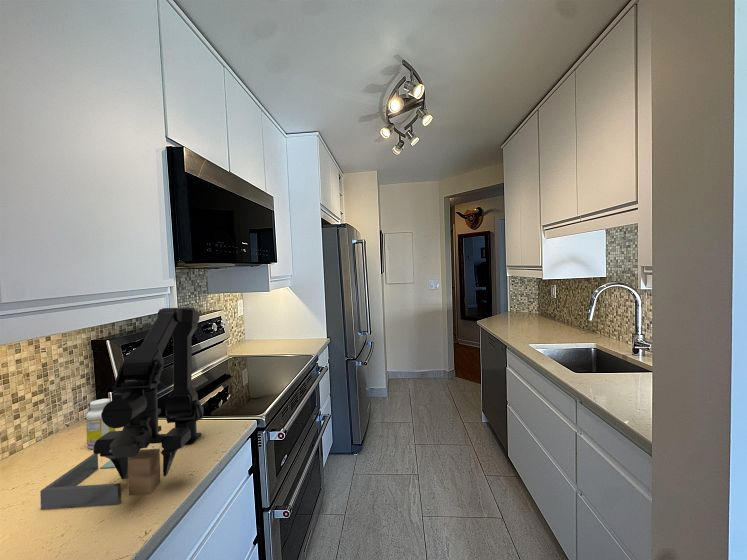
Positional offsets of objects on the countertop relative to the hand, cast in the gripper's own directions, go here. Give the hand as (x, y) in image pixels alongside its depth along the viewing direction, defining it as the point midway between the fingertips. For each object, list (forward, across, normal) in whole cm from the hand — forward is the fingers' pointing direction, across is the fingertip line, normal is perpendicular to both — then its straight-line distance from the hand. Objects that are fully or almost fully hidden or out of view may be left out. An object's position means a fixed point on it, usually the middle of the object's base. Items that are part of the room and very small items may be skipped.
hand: (144, 476), depth 80 cm
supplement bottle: (+3, -26, +24) cm, 35 cm away
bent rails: (+3, -10, +2) cm, 11 cm away
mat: (+3, -12, +14) cm, 19 cm away
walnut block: (+3, 0, 0) cm, 3 cm away
